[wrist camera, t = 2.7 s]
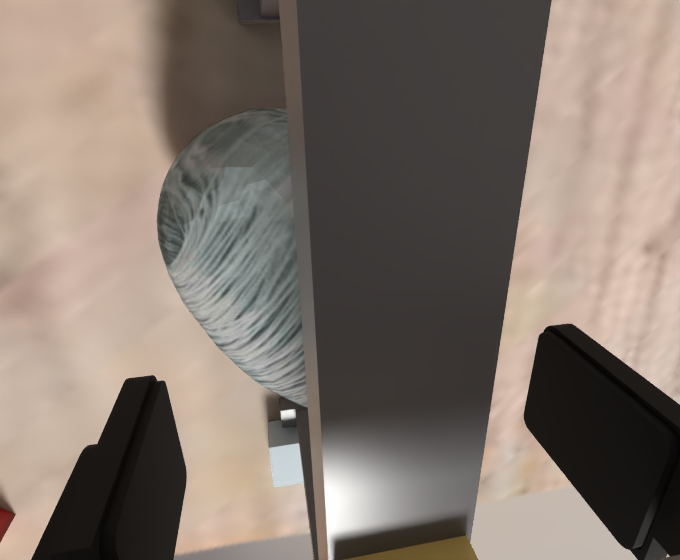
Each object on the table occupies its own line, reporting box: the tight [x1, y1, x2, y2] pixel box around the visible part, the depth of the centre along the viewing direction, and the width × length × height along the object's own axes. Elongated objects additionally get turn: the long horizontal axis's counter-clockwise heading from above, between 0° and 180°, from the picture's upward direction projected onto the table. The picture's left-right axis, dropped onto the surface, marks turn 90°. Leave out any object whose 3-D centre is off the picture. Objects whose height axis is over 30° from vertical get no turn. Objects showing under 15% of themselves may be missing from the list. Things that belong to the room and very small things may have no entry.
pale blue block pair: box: [268, 420, 304, 488], centre depth 20 cm, size 27×6×2 cm, turn 1°
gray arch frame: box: [237, 0, 551, 560], centre depth 14 cm, size 21×4×15 cm, turn 1°
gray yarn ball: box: [157, 108, 308, 407], centre depth 18 cm, size 14×10×10 cm
